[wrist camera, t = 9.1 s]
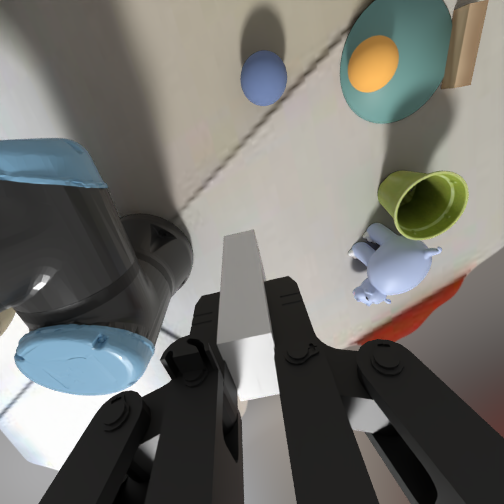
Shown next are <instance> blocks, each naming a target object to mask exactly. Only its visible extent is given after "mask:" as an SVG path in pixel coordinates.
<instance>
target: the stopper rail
mask: <svg viewBox="0 0 504 504" xmlns="http://www.w3.org/2000/svg"><path fill="white" fill-rule="evenodd" d="M488 1H489V0H485V1H480V2H475V3H470V4H468V5H465V6H463V7H461V8H458V9H456V10H454V13H453V19H452V31H451V37H450V43H449V49H448V55H447V61H446V67H445V73H444V77H443V79H442V85H441V89H446V88H457V87H462V86H467V85H471V80H472V76H473V71H474V66H475V62H476V57H477V52H478V48H479V43H480V38H481V33H482V29H483V24H484V19H485V15H486V10H487V5H488Z"/></svg>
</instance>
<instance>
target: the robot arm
mask: <svg viewBox="0 0 504 504" xmlns="http://www.w3.org/2000/svg"><path fill="white" fill-rule="evenodd" d="M107 188H108V186H107V184H106V183H105V182H103V180H102V178H101V176H100V174H99V172H98V170H97V168H96V166H95V164H94V162H93V160H92V158H91V156H90V154H89V153H88V151H87V150H86V149H85V148H84V147H83V146H81V145H80V144H78V143H77V142H74V141H72V140H69V139H63V138H39V139H15V140H0V313H1V312H2V311H4V310H6V309H9V308H11V307H12V308H13V309H14V310H15V311H16V313H17V314H18V315H19V316H20V317H21V319H22V320H23V321H24V323H25V324H26V325H27V326H28V328H29V333H27V334H25V335H24V336H23V337H22V338H21V339H20V340H19V345H18V347H17V349H16V354H15V356H14V358H15V363H16V365H17V367H18V368H19V370H20V371H21V372H22V373H23V374H24V375H25V376H26V377H27V378H29V379H30V380H32V381H34V382H35V383H37V384H39V385H41V386H44V387H46V388H49V389H52V390H55V391H59V392H63V393H69V394H75V395H105V394H111V393H115V392H118V391H121V390H124V389H126V388H128V387H130V386H131V385H133V384H134V383H136V382H137V381H138V379H139V378H140V377H141V376H142V375H143V373H144V372H145V370H146V368H147V365H148V363H149V361H150V359H151V357H152V356H153V354H154V351H155V349H154V348H155V344H156V341H157V338H158V335H159V332H160V329H161V326H162V323H163V320H164V317H165V314H166V311H167V308H168V305H169V302H170V299H171V297H172V296H173V295H174V294H175V293H176V291H177V290H179V289H180V288H181V287H182V286H183V285H184V284H185V282H186V281H187V279H188V277H189V275H190V272H191V269H192V265H193V251H192V248H191V245H190V243H189V241H188V239H187V238H186V236H185V235H184V234H183V233H182V232H181V231H180V230H179V229H178V228H177V227H176V226H175V225H173V224H172V223H170V222H168V221H167V220H164V219H162V218H160V217H157V216H153V215H147V214H134V215H129V216H125V217H123V218H119V216H118V213H117V211H116V209H115V206H114V204H113V202H112V199H111V197H110V195H109V192H108V190H107ZM193 316H194V318H193V320H192V327H191V331H190V335H188V336H185V337H182V338H179V339H178V340H176V341H175V342H173V343H172V344H171V345H170V346H169V347H168V348H167V349H166V350H165V351H164V353H163V355H162V357H161V359H160V361H161V363H162V364H163V366H164V368H165V369H166V371H167V372H168V374H169V376H170V377H171V379H172V380H171V381H170V382H169V383H167V384H166V385H164V386H163V387H161V388H159V389H157V390H155V391H153V392H151V393H149V394H147V395H145V396H143V397H141V396H140V395H139V393H138V392H134V391H125V392H121V393H119V394H117V395H115V396H113V397H112V398H110V399H109V400H108V401H107V402H106V403H104V404H103V405H102V407H101V408H100V409H99V410H98V412H97V413H96V414H95V416H94V417H93V419H92V420H91V422H90V424H89V425H88V427H87V428H86V430H85V431H84V433H83V435H82V436H81V438H80V439H79V441H78V442H77V444H76V446H75V447H74V449H73V450H72V452H71V453H70V455H69V457H68V458H67V460H66V461H65V463H64V464H63V466H62V468H61V469H60V471H59V472H58V474H57V475H56V477H55V479H54V480H53V482H52V483H51V485H50V487H49V488H48V490H47V491H46V493H45V495H44V496H43V497H42V499H41V501H40V502H39V504H244V484H243V483H244V482H243V448H242V420H241V416H240V412H239V410H238V405H237V393H238V396H239V398H240V400H241V401H245V400H250V399H255V398H260V397H266V396H270V395H276V394H280V399H281V406H282V412H283V418H284V425H285V431H286V438H287V444H288V450H289V456H290V463H291V469H292V476H293V481H294V488H295V495H296V501H297V504H379V502H378V499H377V496H376V494H375V491H374V488H373V485H372V482H371V480H370V477H369V474H368V472H367V469H366V466H365V463H364V460H363V458H362V455H361V452H360V449H359V447H358V444H357V441H356V438H355V436H354V433H353V430H358V431H364V432H365V434H366V435H367V436H368V438H369V440H370V441H371V443H372V444H373V446H374V447H375V449H376V450H377V452H378V454H379V455H380V457H381V458H382V460H383V461H384V463H385V464H386V466H387V467H388V469H389V471H390V472H391V474H392V475H393V477H394V478H395V480H396V481H397V483H398V485H399V486H400V487H401V489H402V491H403V492H404V494H405V495H406V497H407V498H408V500H409V501H410V503H411V504H504V438H503V437H502V436H500V435H499V433H497V432H496V431H495V430H494V429H493V428H492V427H491V426H490V425H489V424H488V423H487V422H486V421H485V420H483V419H482V418H481V417H480V416H479V415H478V414H477V413H476V412H475V411H474V410H473V409H472V408H471V407H470V406H468V405H467V404H466V403H465V402H464V401H463V400H462V399H461V398H460V397H459V396H458V395H457V394H456V393H454V392H453V391H452V390H451V389H450V388H449V387H448V386H447V385H446V384H445V383H444V382H443V381H441V380H440V379H439V378H438V377H437V376H436V375H435V374H434V373H433V372H432V371H431V370H429V368H428V367H426V366H425V365H424V364H423V363H422V362H421V361H420V360H419V359H418V358H417V357H416V356H415V355H414V354H412V353H411V352H410V351H409V350H408V349H406V348H405V347H403V346H402V345H401V344H398V343H395V342H393V341H390V340H381V339H377V340H372V341H368V342H367V343H365V344H364V345H362V346H361V347H360V349H359V351H351V350H341V349H336V348H332V347H330V346H327V345H326V344H324V343H323V342H321V341H320V340H319V339H318V338H317V336H316V334H315V333H314V330H313V327H312V325H311V322H310V319H309V316H308V313H307V311H306V308H305V305H304V302H303V299H302V296H301V294H300V291H299V288H298V285H297V283H296V282H295V281H294V280H293V279H292V278H290V277H289V276H286V277H282V278H277V279H273V280H268V281H266V278H265V273H264V269H263V265H262V260H261V256H260V252H259V248H258V244H257V240H256V236H255V232H254V230H250V231H245V232H241V233H237V234H232V235H228V236H224V243H223V258H222V272H221V287H220V292H217V293H213V294H208V295H204V296H201V298H200V299H199V301H198V302H197V304H196V305H195V310H194V315H193ZM352 429H353V430H352Z"/></svg>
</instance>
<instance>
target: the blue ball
mask: <svg viewBox="0 0 504 504" xmlns="http://www.w3.org/2000/svg"><path fill="white" fill-rule="evenodd" d="M286 83H287V72H286V68H285V65H284V63H283V61H282V60H281V58H280V57H279V56H278V55H276V54H275V53H273V52H271V51H266V50H263V51H258V52H256V53H254V54H252V55H251V56H250V57H249V58H248V59H247V60H246V62H245V63H244V65H243V68H242V71H241V86H242V90H243V92H244V94H245V96H246V97H247V98H248V99H249V100H250V101H251V102H252V103H254V104H256V105H260V106H267V105H270V104H273V103H274V102H276V101H277V100H278V99H279V98H280V97H281V96H282V94H283V92H284V90H285V87H286Z"/></svg>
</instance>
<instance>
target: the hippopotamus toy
mask: <svg viewBox="0 0 504 504" xmlns="http://www.w3.org/2000/svg"><path fill="white" fill-rule="evenodd" d="M363 238H367V241H368V242H372V241H373V243H377V244H379V245H380V247H379V248H378V249H377V250H374V249H373V248H372V247H371V246H369V245H368V244H367V243H365V242H358V243H356V244H354V245H353V247H352V249H351V250H350V251H349V252H348V255H350V256H353V258H354V259H358V260H360V261H361V262H363V263H364V264H365V265H366V266H367V275H368V278H367V279H365V280H364V281H363V282H362V284H361V286H359V287H357V288H355V289H354V290H353V294H354V298H355V299H356V300H357V301H358V302H359V301H360V302H363V303H365V304H366V305H367V306H370V305H371V304H372V303H374V304H379V303H381V302H382V301H385V302H386V303H388V304H390V303H391V300H389V299H386V296H387V295H396V294H401V293H404V292H407V291H409V290H411V289H413V288H414V287H416V286H417V285H418V284H419V283H420V282H421V281H422V280H423V279H424V278H425V276H426V275H427V273H428V271H429V269H430V266H431V262H432V255H437V254H439V253H441V251H442V248H441V247H438V249H436V248H428V247H427V246H426V245H425V244H424V243H423V242H422V241H420V240H412V239H408V238H406V237H405V236H403V235H400V236H398V235H397V234H395V233H394V232H392V231H391V230H390V229H388V228H387V227H385V226H384V225H383V224H381V223H374V224H372V225H370V226H369V227H368V229H367V231H366V232H365V233H364V235H363Z"/></svg>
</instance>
